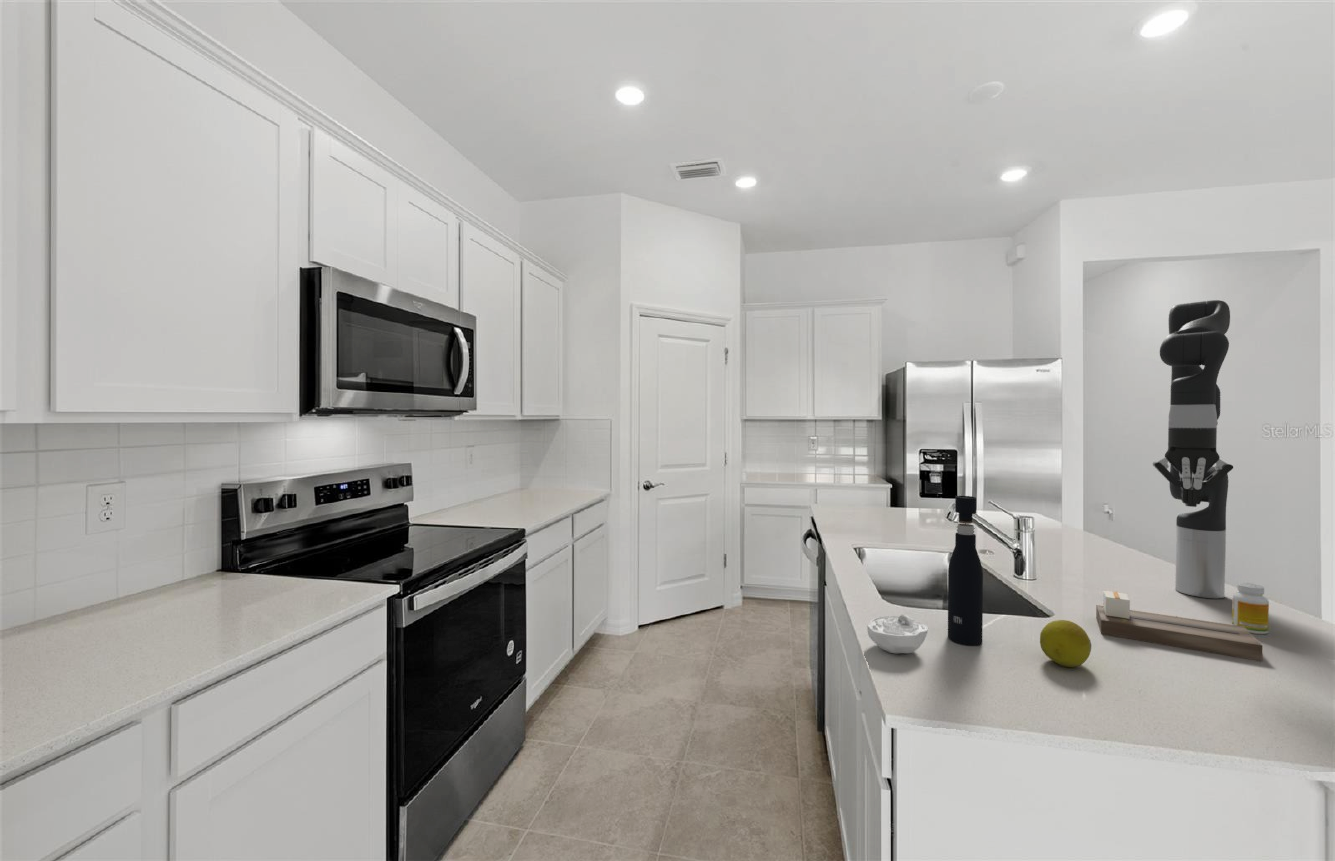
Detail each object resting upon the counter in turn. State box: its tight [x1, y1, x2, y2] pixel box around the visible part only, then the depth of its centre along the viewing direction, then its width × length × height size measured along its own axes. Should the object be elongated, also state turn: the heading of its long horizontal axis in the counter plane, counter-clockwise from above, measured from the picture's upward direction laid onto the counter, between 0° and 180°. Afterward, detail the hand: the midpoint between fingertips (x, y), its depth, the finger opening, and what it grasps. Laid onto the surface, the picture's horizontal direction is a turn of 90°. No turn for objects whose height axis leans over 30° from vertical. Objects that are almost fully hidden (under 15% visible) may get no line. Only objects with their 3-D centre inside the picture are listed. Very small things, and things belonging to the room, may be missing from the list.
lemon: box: [1039, 619, 1092, 668], centre depth 103 cm, size 11×8×8 cm
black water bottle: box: [947, 495, 984, 647], centre depth 114 cm, size 6×6×30 cm
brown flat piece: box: [1095, 604, 1263, 662], centre depth 115 cm, size 11×24×3 cm, turn 56°
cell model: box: [866, 614, 929, 654], centre depth 110 cm, size 10×12×7 cm
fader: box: [1102, 590, 1131, 619], centre depth 120 cm, size 5×4×4 cm
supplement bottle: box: [1231, 582, 1270, 635], centre depth 118 cm, size 5×5×10 cm
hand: (1190, 506), depth 118 cm, fingers closed
